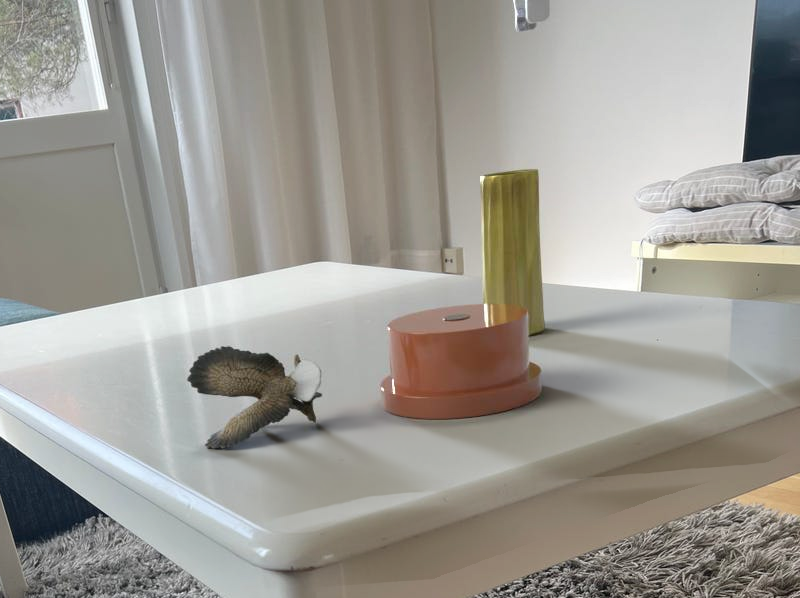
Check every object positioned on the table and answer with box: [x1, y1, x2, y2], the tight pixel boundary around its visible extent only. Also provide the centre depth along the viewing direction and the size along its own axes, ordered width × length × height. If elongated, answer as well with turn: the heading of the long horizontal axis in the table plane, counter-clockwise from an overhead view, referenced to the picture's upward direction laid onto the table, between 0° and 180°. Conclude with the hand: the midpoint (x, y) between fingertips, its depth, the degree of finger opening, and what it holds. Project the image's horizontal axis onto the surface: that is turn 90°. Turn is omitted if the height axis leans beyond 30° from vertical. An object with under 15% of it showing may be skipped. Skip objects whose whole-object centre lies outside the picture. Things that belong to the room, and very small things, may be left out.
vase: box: [479, 168, 546, 336], centre depth 92 cm, size 6×6×14 cm
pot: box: [379, 303, 543, 420], centre depth 75 cm, size 12×12×6 cm
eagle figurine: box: [186, 345, 323, 449], centre depth 72 cm, size 8×7×9 cm
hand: (531, 27), depth 85 cm, fingers open, 8 cm apart
